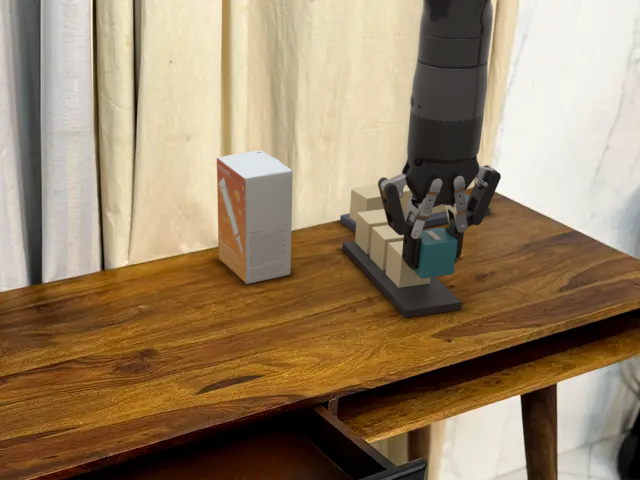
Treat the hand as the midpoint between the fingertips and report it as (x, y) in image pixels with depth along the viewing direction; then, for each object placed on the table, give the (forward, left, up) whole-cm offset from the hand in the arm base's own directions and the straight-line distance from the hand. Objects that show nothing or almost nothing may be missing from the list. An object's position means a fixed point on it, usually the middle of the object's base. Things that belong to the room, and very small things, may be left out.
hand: (431, 263), depth 112 cm
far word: (-10, -25, -5) cm, 27 cm away
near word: (0, -8, -5) cm, 9 cm away
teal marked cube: (0, 0, -1) cm, 1 cm away
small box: (+16, -16, -5) cm, 23 cm away
